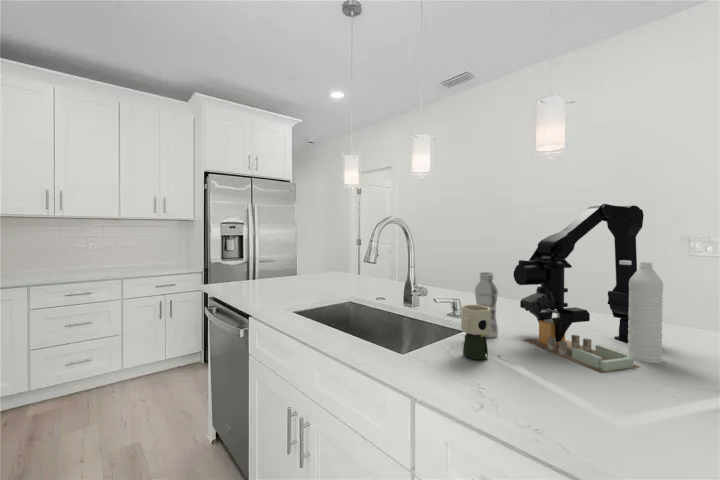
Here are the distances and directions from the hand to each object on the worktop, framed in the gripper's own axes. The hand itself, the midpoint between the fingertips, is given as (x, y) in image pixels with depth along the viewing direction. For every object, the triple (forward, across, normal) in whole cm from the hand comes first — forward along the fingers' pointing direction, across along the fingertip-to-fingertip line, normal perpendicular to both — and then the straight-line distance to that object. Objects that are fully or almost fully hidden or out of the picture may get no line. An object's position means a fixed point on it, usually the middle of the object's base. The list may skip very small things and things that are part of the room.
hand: (551, 339), depth 96 cm
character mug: (+2, 0, -25) cm, 25 cm away
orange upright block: (+1, 0, 0) cm, 1 cm away
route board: (+2, +8, 0) cm, 8 cm away
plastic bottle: (+2, -12, -13) cm, 18 cm away
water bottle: (+2, +14, +12) cm, 19 cm away
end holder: (+1, +15, 0) cm, 15 cm away
